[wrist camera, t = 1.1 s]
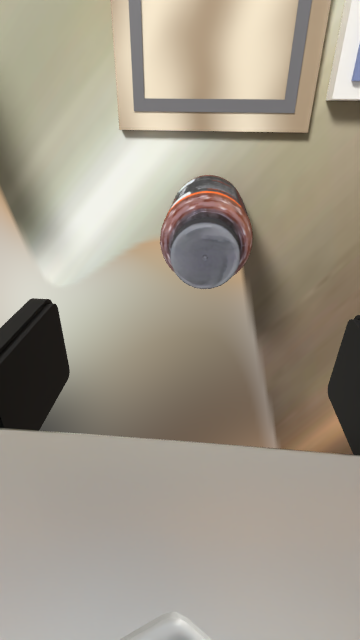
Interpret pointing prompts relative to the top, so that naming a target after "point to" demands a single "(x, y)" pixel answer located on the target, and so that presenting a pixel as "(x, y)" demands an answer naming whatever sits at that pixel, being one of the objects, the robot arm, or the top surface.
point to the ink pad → (347, 57)
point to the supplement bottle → (206, 233)
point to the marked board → (217, 63)
